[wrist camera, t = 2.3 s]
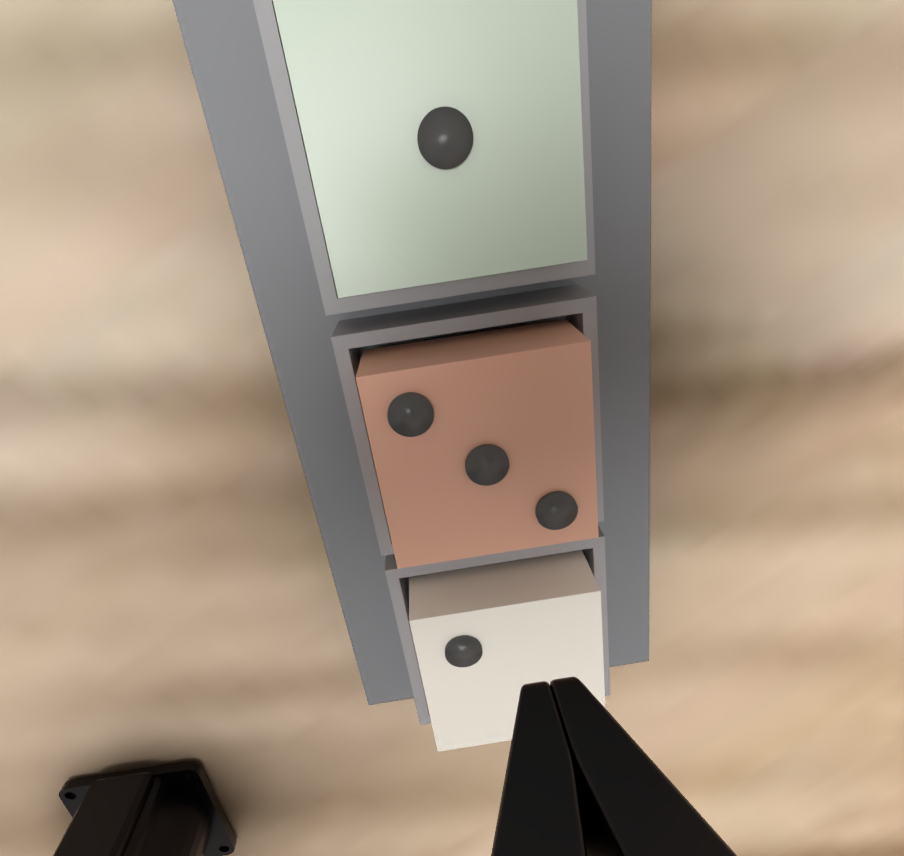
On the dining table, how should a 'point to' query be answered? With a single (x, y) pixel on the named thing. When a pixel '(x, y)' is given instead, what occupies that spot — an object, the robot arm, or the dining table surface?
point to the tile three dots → (483, 441)
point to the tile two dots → (502, 640)
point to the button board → (440, 320)
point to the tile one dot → (439, 135)
